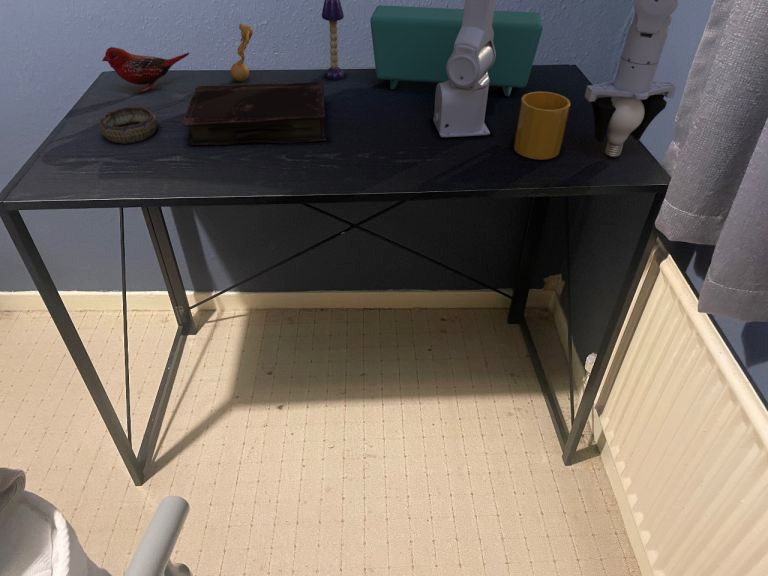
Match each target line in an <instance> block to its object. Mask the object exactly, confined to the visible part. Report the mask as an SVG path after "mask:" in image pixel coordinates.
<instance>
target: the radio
mask: <svg viewBox="0 0 768 576" xmlns="http://www.w3.org/2000/svg"><path fill="white" fill-rule="evenodd" d="M463 13H464V8H447V7H446V8H445V7H428V6H427V7H425V6H404V5H382V4H381V5H377V6H376V7H375V9H374V11H373V13H372V15H371V17H370V20H369V22H370V30H371V39H372V48H373V55H374V56H373V58H374V68H375V76H376V78H377V80H384V81H390V82H389V83H390V84H389V85H390V86H389V87H390V90H395V89H396V87H397V86H398V84H399V82H400V81H401V82H417V83H418V82H419V83H433V84H434V83H435V84H438V83H442V82H446V81H448V80H449V78H448V75H447V71H446V66H447V62H448V60H449V58H450V57H451V55H452V53H453V50H454V43H455V41H456V38H457V36H458V34H459V32H460V29H461V27H462V21H463ZM492 28H493V31H494V37H493V45H494V48H495V53H496V57H495V61H494V64H493V65H492V67H491V68H490V69H489V70H488V77H489V87H501V88H502V91H503V95H504V97H510V95H511V93H512V89H513V88H516V89H517V88H518V89H523V88H525V87H527V85H528V81H529V78H530V75H531V71H532V68H533V65H534V61H535V57H536V54H537V50H538V47H539V43H540V39H541V36H542V33H543V29H544V27H543V22H542V17H541V14H540V13H539V12H534V11H513V10H512V11H510V10H494V15H493V22H492Z"/></svg>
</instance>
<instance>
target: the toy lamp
mask: <svg viewBox="0 0 768 576" xmlns="http://www.w3.org/2000/svg"><path fill="white" fill-rule="evenodd" d="M344 17H345V14H344V10H343V7H342V3H341V0H324V1H323V6H322V11H321V18H322V19H323V20H324V21H328V24H329V32H330V33H329V39H330V40H329V47H330V49H329V52H330V57H329V59H330V67H329V68H328V69H327V70H326V72H325V78H326V79H328V80H333V81H334V80H335V81H336V80H342V79H343V78H345V73H344V70H343V69H342V68H340V67H339V63H338V61H339V56H338V54H339V49H338V45H339V42H338V37H339V35H338V21H341V20H343V19H344Z"/></svg>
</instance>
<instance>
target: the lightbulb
mask: <svg viewBox="0 0 768 576" xmlns="http://www.w3.org/2000/svg"><path fill="white" fill-rule="evenodd" d="M611 101H612V102H613V103H612V105H613V106H614V107H615V108H616V110H615V112H614V114H613V116H612V118H611V120H610V122H609V124H608V128H607V133H606V137H607V142H606V145H605V149H604V153H605V155H607V156H608V157H610V158H615V157H619V156H621V154H622V150H623V147H624V144H625V142H626V141H627V139H628V138H629V136H630V135H631V132H632V131H634V130H635V129H636V128H637V127H638V126H639V125H640V124H641V122H642V121H643V118H644V114H645V109H644V105H643V103H642V101H641V100H637V99H635V98H630V97H625V98H618V99H612V100H611Z"/></svg>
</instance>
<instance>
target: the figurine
mask: <svg viewBox="0 0 768 576" xmlns="http://www.w3.org/2000/svg"><path fill="white" fill-rule="evenodd" d="M238 29H239V31H240V36H241V38H240V42H241V43H240V44H239V46H238V47H237V55H238V56H239V57H240V60H237V62H234V63H233V64H232V65H231V67H230V75H231V77H232V79H233V80H235V82H241V83H242V82H245V81H246V80H247V79H249V76H250V70H249V67H248V66H247V65H246V64H245V60H246V57H245V51H246V49H247V46H248V45H249V43H250V40H251V39H252V36H253V33H254V29H253V27H251V26H250V25H245V24H244V23H239V24H238Z"/></svg>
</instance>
